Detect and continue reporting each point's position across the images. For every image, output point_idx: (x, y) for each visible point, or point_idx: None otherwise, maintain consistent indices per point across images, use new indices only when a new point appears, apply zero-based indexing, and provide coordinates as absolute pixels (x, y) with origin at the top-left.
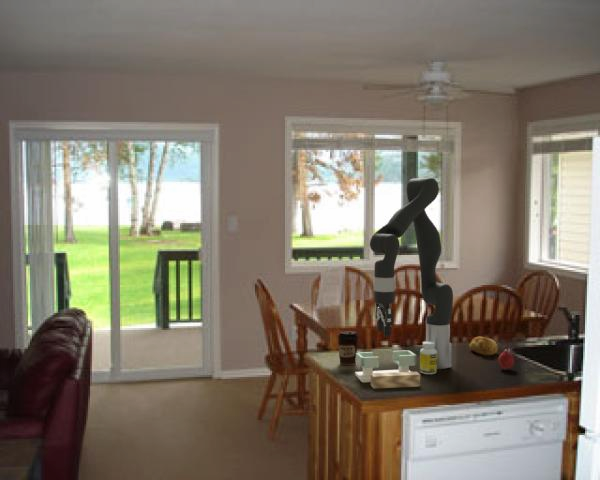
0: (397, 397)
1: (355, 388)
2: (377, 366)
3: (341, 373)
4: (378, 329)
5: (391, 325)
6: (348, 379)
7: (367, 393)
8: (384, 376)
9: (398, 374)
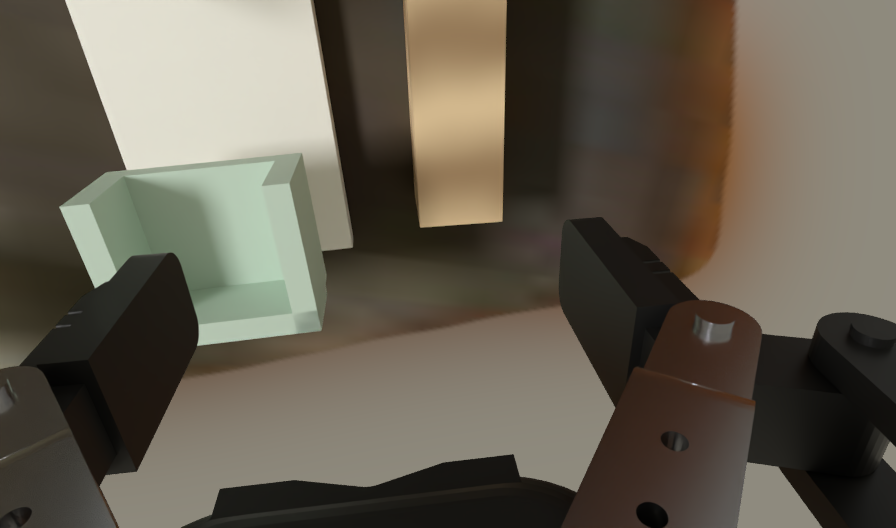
0: (698, 79)
1: (471, 290)
2: (303, 166)
3: None
4: (186, 356)
5: (742, 311)
6: None
7: None
8: (503, 140)
9: (473, 8)
